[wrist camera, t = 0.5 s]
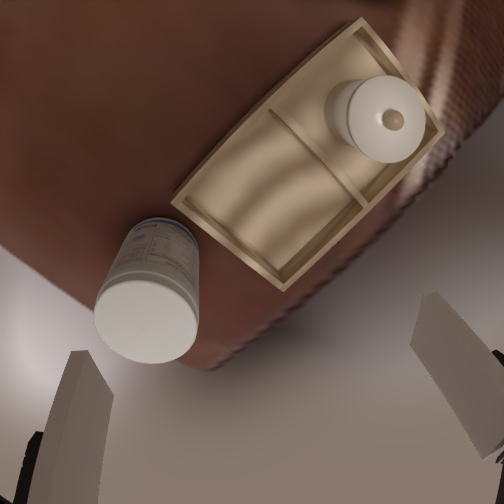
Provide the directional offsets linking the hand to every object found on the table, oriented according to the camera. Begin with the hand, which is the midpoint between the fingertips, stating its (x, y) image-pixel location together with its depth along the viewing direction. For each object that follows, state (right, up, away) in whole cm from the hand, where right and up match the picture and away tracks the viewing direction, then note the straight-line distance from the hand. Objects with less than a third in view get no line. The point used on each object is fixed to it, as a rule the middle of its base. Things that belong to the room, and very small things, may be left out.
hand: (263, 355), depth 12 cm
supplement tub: (-12, +4, +27) cm, 30 cm away
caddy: (+7, +15, +24) cm, 29 cm away
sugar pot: (+11, +20, +22) cm, 31 cm away
